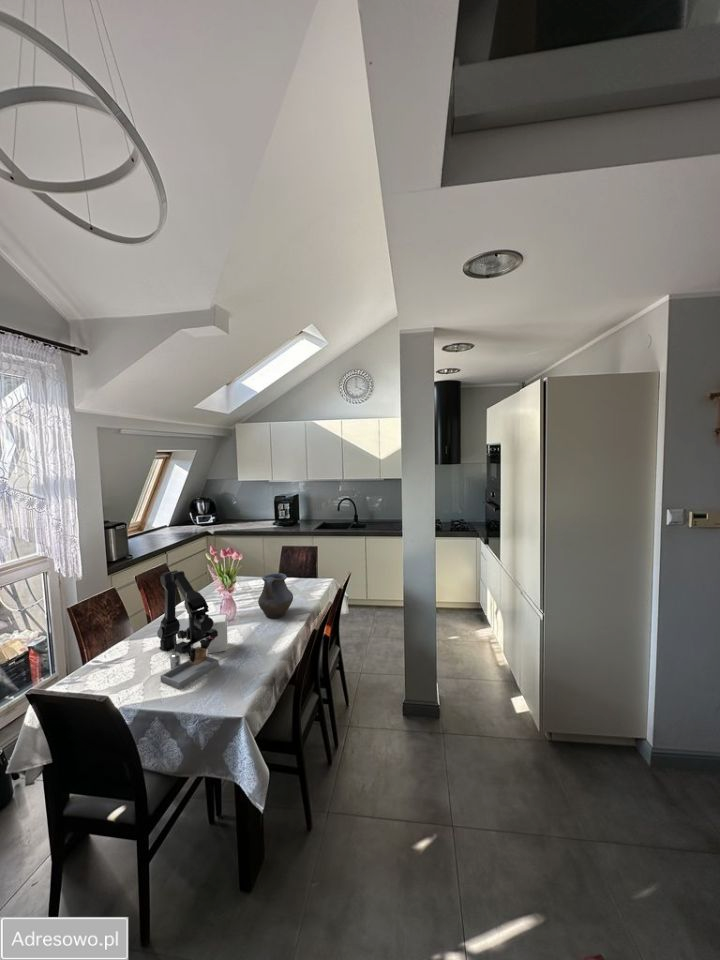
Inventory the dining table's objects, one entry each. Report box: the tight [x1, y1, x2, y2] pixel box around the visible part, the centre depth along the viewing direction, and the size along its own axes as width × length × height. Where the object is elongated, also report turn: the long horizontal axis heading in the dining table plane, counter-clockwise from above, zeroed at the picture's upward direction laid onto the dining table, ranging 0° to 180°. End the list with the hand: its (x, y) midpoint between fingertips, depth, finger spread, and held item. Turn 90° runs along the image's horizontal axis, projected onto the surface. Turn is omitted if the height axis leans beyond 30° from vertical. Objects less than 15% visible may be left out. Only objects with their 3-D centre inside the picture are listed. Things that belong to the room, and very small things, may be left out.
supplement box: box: [206, 614, 229, 654], centre depth 190 cm, size 9×9×15 cm
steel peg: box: [169, 652, 182, 670], centre depth 174 cm, size 4×4×6 cm
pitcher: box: [257, 572, 294, 619], centre depth 228 cm, size 21×22×25 cm
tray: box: [160, 655, 220, 690], centre depth 169 cm, size 20×12×3 cm, turn 152°
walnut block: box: [188, 646, 207, 665], centre depth 172 cm, size 5×5×5 cm
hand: (197, 659), depth 172 cm, fingers closed on walnut block, 5 cm apart
